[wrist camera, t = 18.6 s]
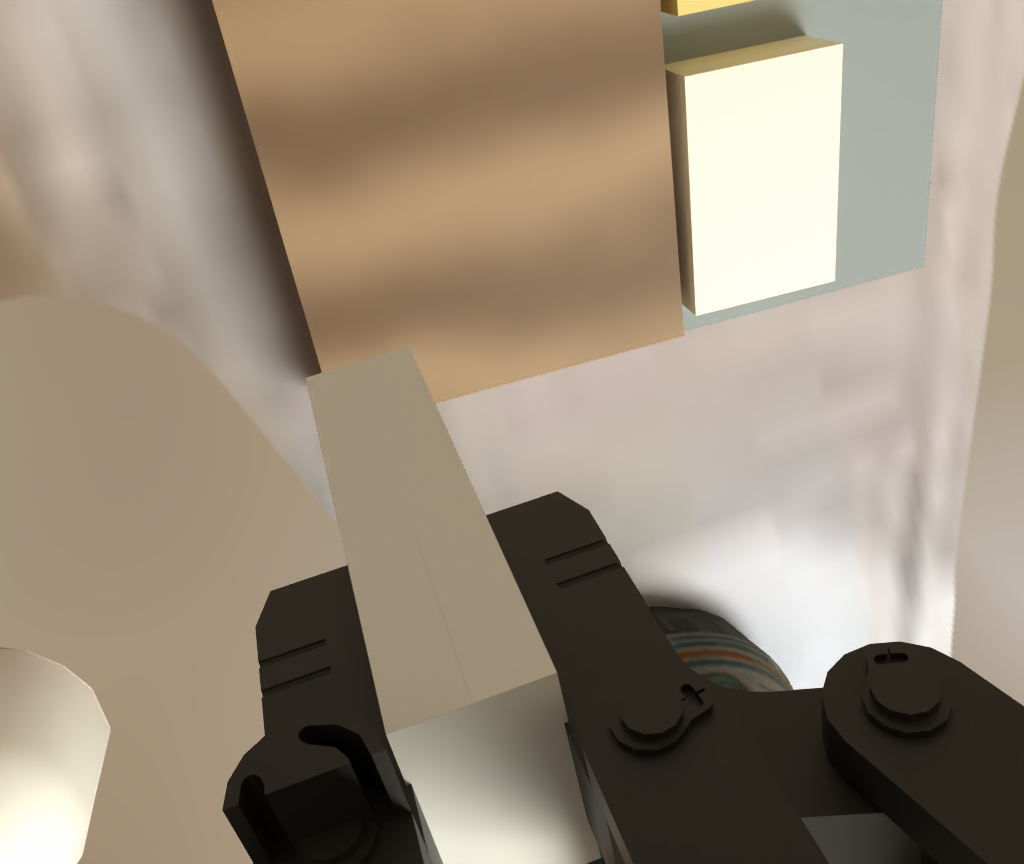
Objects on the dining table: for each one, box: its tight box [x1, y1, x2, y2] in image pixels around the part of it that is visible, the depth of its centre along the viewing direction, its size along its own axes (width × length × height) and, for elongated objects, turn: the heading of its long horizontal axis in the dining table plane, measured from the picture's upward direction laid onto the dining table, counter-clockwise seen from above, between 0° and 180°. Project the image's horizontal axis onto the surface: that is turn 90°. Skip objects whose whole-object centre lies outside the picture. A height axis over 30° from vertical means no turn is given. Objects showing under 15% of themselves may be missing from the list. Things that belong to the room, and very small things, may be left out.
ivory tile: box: [665, 35, 843, 316], centre depth 37 cm, size 9×6×2 cm, turn 8°
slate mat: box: [661, 0, 943, 331], centre depth 36 cm, size 24×12×1 cm, turn 9°
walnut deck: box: [212, 0, 684, 403], centre depth 33 cm, size 22×14×3 cm, turn 9°
